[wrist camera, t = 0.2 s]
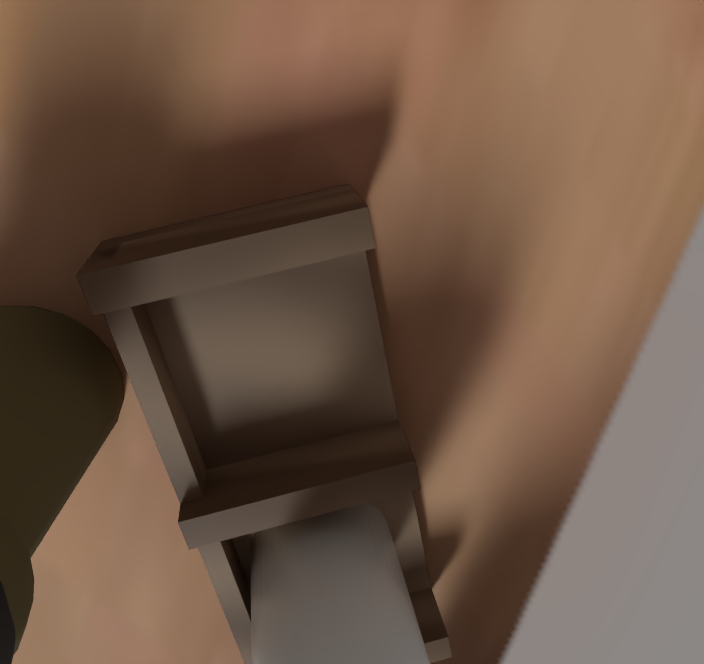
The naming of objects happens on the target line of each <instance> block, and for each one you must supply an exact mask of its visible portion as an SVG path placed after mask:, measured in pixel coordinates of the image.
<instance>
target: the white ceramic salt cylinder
mask: <svg viewBox="0 0 704 664" xmlns="http://www.w3.org/2000/svg"><path fill="white" fill-rule="evenodd" d="M250 561H251V641H252V664H430V661H429V658H428V655H427V651H426V648H425V645H424V641H423V638H422V635H421V632H420V628H419V625H418V622H417V618H416V615H415V612H414V609H413V605H412V602H411V599H410V595H409V592H408V589H407V585H406V582H405V579H404V576H403V572H402V569H401V566H400V562H399V559H398V556H397V553H396V549H395V546H394V543H393V539H392V536H391V533H390V529H389V526H388V523H387V521H386V519H385V517H384V516H383V514H382V513H381V511H380V510H379V509H378V508H377V507H376V506H375V505H373V504H372V503H371V502H367V503H363V504H360V505H356V506H352V507H348V508H345V509H341V510H337V511H333V512H329V513H326V514H322V515H318V516H314V517H311V518H307V519H303V520H299V521H295V522H292V523H288V524H284V525H280V526H277V527H273V528H269V529H265V530H261V531H258V532H255V534H254V536H253V539H252V543H251V551H250Z"/></svg>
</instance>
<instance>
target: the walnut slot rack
mask: <svg viewBox="0 0 704 664" xmlns="http://www.w3.org/2000/svg"><path fill="white" fill-rule="evenodd" d="M374 248H375V243H374V237H373V232H372V227H371V221H370V216H369V211H368V207H367V205H366V204H365V203H364V201H363V200H362V199H361V198H360V196H359V195H358V194H357V193H356V191H355V190H354V189H353V188H352V186H351V185H350V184H346V185H342V186H338V187H333V188H329V189H325V190H321V191H316V192H312V193H308V194H303V195H299V196H295V197H291V198H286V199H282V200H278V201H273V202H269V203H265V204H260V205H256V206H252V207H248V208H243V209H239V210H235V211H230V212H226V213H222V214H218V215H213V216H209V217H205V218H200V219H196V220H192V221H187V222H183V223H179V224H175V225H170V226H166V227H162V228H157V229H153V230H149V231H145V232H140V233H136V234H132V235H127V236H123V237H119V238H114V239H110V240H106V241H102V242H101V243H100V244H99V245H98V247H97V248H96V250H95V251H94V252H93V254H92V255H91V256H90V258H89V259H88V260H87V262H86V263H85V264H84V266H83V267H82V268H81V270H80V271H79V272H78V274H77V275H76V277H77V279H78V282H79V284H80V287H81V289H82V291H83V294H84V296H85V299H86V301H87V304H88V306H89V308H90V311H91V313H92V316H95V315H99V314H104V316H105V319H106V321H107V324H108V326H109V329H110V331H111V334H112V336H113V339H114V341H115V344H116V346H117V349H118V351H119V354H120V356H121V358H122V361H123V363H124V366H125V368H126V371H127V373H128V376H129V378H130V381H131V383H132V386H133V388H134V391H135V393H136V396H137V398H138V400H139V403H140V405H141V408H142V410H143V413H144V415H145V418H146V420H147V423H148V425H149V428H150V430H151V433H152V435H153V438H154V440H155V442H156V445H157V447H158V450H159V452H160V455H161V457H162V460H163V462H164V465H165V467H166V470H167V472H168V475H169V477H170V480H171V482H172V485H173V487H174V489H175V492H176V494H177V497H178V499H179V502H180V504H181V505H180V512H179V519H178V524H179V526H180V528H181V531H182V533H183V536H184V538H185V541H186V543H187V545H188V548H189V550H190V549H193V548H197V547H198V549H199V551H200V554H201V556H202V559H203V561H204V564H205V566H206V569H207V571H208V574H209V576H210V578H211V581H212V583H213V586H214V588H215V591H216V593H217V596H218V598H219V601H220V603H221V606H222V608H223V611H224V613H225V616H226V618H227V620H228V623H229V625H230V628H231V630H232V633H233V635H234V638H235V640H236V643H237V645H238V648H239V650H240V653H241V655H242V658H243V660H244V662H245V664H252V641H251V561H250V551H251V543H252V539H253V536H254V534H255V532H258V531H261V530H265V529H269V528H273V527H277V526H280V525H284V524H288V523H292V522H295V521H299V520H303V519H307V518H311V517H314V516H318V515H322V514H326V513H329V512H333V511H337V510H341V509H345V508H348V507H352V506H356V505H360V504H363V503H367V502H371V503H372V504H373V505H375V506H376V507H377V508H378V509H379V510H380V511H381V513H382V514H383V516H384V517H385V519H386V521H387V523H388V526H389V529H390V533H391V536H392V539H393V543H394V546H395V549H396V553H397V556H398V559H399V562H400V566H401V569H402V572H403V576H404V579H405V582H406V585H407V589H408V592H409V595H410V599H411V602H412V605H413V609H414V612H415V615H416V618H417V622H418V625H419V628H420V632H421V635H422V638H423V641H424V645H425V648H426V651H427V655H428V658H429V661H430V663H433V662H437V661H440V660H444V659H447V658H451V657H452V654H451V649H450V643H449V638H448V635H447V632H446V629H445V626H444V623H443V620H442V617H441V614H440V612H439V609H438V606H437V603H436V600H435V597H434V594H433V592H432V589H431V584H430V579H429V574H428V569H427V564H426V559H425V554H424V548H423V543H422V538H421V533H420V528H419V523H418V518H417V512H416V507H415V502H414V497H413V492H412V491H413V490H416V489H420V483H419V478H418V472H417V467H416V462H415V459H414V456H413V454H412V451H411V449H410V447H409V444H408V442H407V439H406V437H405V435H404V432H403V430H402V427H401V425H400V423H399V420H398V415H397V410H396V405H395V400H394V395H393V389H392V384H391V379H390V374H389V369H388V364H387V359H386V353H385V348H384V343H383V338H382V333H381V328H380V323H379V318H378V312H377V307H376V302H375V297H374V292H373V287H372V282H371V277H370V271H369V266H368V261H367V256H366V250H370V249H374Z"/></svg>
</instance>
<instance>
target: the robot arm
mask: <svg viewBox="0 0 704 664" xmlns="http://www.w3.org/2000/svg"><path fill="white" fill-rule="evenodd" d="M15 643H16V630H15V624H14V621H13V617H12V614H11V610H10V607H9V603H8V600H7V596H6V593H5V589H4V586H3V583H2V581H1V580H0V664H11V663H12V659H13V654H14V650H15Z"/></svg>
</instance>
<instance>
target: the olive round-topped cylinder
mask: <svg viewBox="0 0 704 664" xmlns="http://www.w3.org/2000/svg"><path fill="white" fill-rule="evenodd" d="M123 400H124V395H123V384H122V375H121V372H120V370H119V368H118V366H117V364H116V362H115V360H114V358H113V356H112V354H111V351H110V350H109V349H108V348H107V347H106V346H105V345H104V344H103V343H102V342H101V341H100V340H99V339H98V338H97V337H96V336H95V335H94V334H93V332H92V331H90V330H89V329H87V328H85V327H84V326H82V325H80V324H79V323H77V322H75V321H73V320H72V319H70V318H68V317H67V316H65V315H62V314H58V313H55V312H51V311H48V310H44V309H40V308H37V307H9V306H1V307H0V580H1V581H2V583H3V586H4V589H5V593H6V596H7V600H8V603H9V607H10V610H11V614H12V617H13V621H14V624H15V630H16V643H15V650H14V654H15V652H16V651H17V649H18V647H19V644H20V642H21V639H22V636H23V633H24V630H25V628H26V624H27V621H28V617H29V613H30V610H31V606H32V603H33V594H34V575H33V570H32V564H31V559H30V558H31V556H32V555H33V553H34V552H35V550H36V549H37V547H38V545H39V544H40V542H41V541H42V539H43V538H44V536H45V534H46V533H47V531H48V530H49V528H50V526H51V525H52V523H53V522H54V520H55V519H56V517H57V515H58V514H59V512H60V511H61V509H62V508H63V506H64V504H65V503H66V501H67V500H68V498H69V497H70V495H71V493H72V492H73V490H74V489H75V487H76V486H77V484H78V482H79V481H80V479H81V478H82V476H83V474H84V473H85V471H86V470H87V468H88V467H89V465H90V463H91V462H92V460H93V459H94V457H95V456H96V454H97V452H98V451H99V449H100V448H101V446H102V445H103V443H104V441H105V440H106V438H107V437H108V435H109V434H110V432H111V430H112V429H113V427H114V426H115V424H116V422H117V421H118V417H119V414H120V410H121V407H122V404H123ZM14 654H13V655H14Z"/></svg>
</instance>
